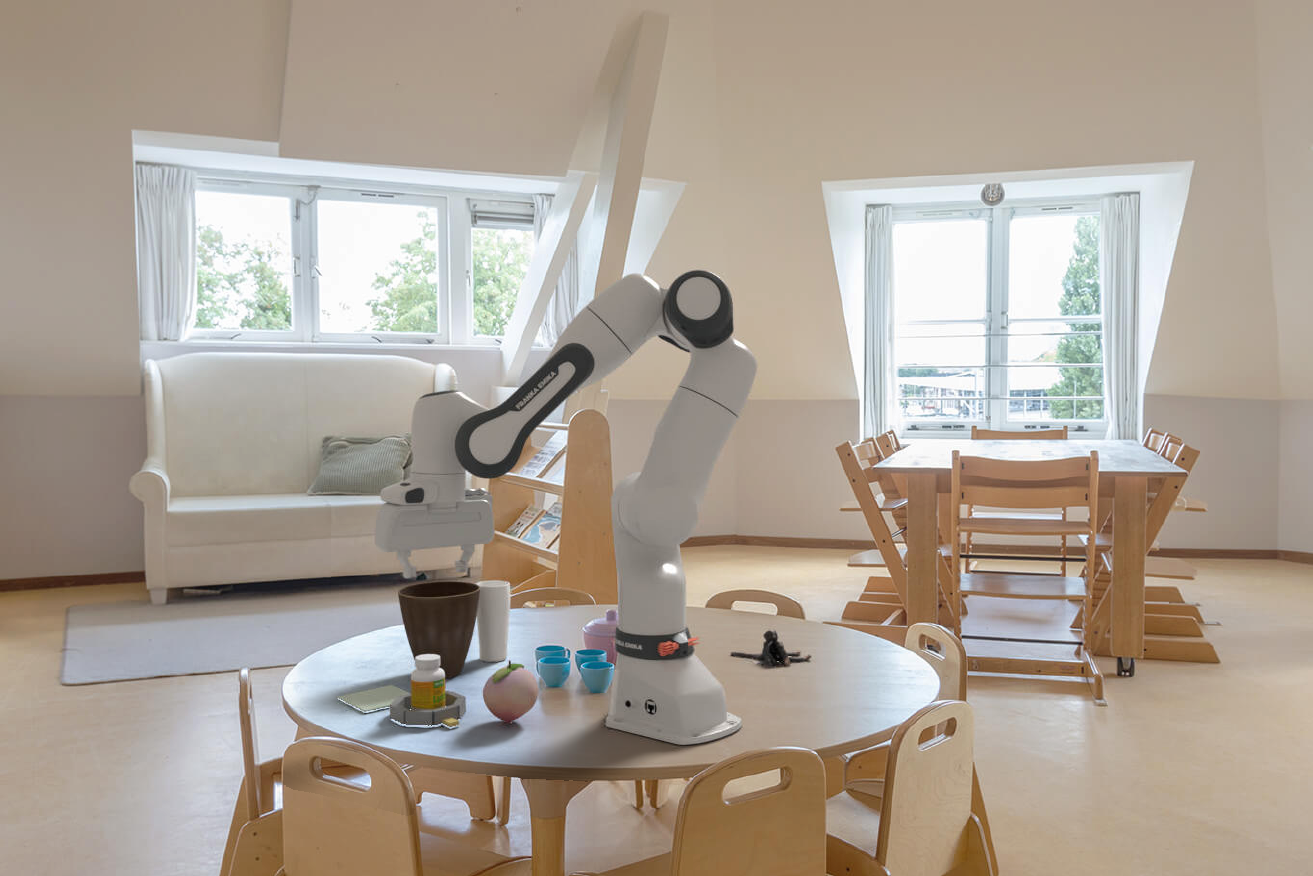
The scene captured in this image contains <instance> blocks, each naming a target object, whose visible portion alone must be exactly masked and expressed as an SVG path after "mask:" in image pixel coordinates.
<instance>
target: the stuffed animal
mask: <svg viewBox="0 0 1313 876" xmlns="http://www.w3.org/2000/svg"><path fill="white" fill-rule="evenodd" d="M763 638H764V642H763V644H762V645H763V647H762V651H761V653H746V652H740V651H731V652H730V656H732V655H734V656H733V657H735V656H741V657H740V658H744V657H747V658H746V659H745V660H746V661H747V660H748V662H753V661H754V660H756V659H758V660H757V661H758V662H754V663H757V664H756V665H758V664H761V665H760V666H763V665H765V667H770V666H773V667H772V668H775V667H774V666H776V667H780V666H779V665H781V666H783V665H784V666H783V667H785V666H790V667H791V665H792V663H791V662H796V663H801V662H800V661H806V662H808V661H809V660H810V659H811V658H812V655H811V654H807V655H805V656H804V657H801V656H800V655H801V653H802V652H801V650H797V651H792V652H788V651H786V649H785V647H784V643H783V642H782V641H779V636H778V632H777V631H776V630H774V629H768V630H767V631H766V632H765V633H763ZM797 655H799V656H800V657H799V656H797ZM788 656H796V657H788ZM752 658H753V660H752V661H749V660H750V659H752ZM762 660H763V661H762ZM807 660H808V661H807ZM777 661H779V662H777ZM748 662H747V663H748ZM754 663H753V664H754ZM790 664H791V665H790Z"/></svg>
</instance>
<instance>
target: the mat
mask: <svg viewBox="0 0 1313 876" xmlns="http://www.w3.org/2000/svg"><path fill="white" fill-rule="evenodd" d="M410 693H411V692H409V691H406V690H404V689H401V688H398V687H397V686H394V685H392V684H390V685H386V686H381V687H376V688H372V689H368V690H363V691H357V692H354V693H348V694H343V695H340V696H337V699H338V698H339V699H341V700H343V701H345V702H346V703H348V704H351V705H352V706H355V707H356V708H359V709H360V710H362V711H364V712H366V711H370V710H376V709H380V708H385V707H390V704H391V703H392V702H393V701H394V700H395V699H396V698H397V697H400V696H402V695H406V694H410Z"/></svg>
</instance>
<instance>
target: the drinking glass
mask: <svg viewBox="0 0 1313 876" xmlns="http://www.w3.org/2000/svg"><path fill="white" fill-rule="evenodd" d="M475 584H477V585H479V586H480V596H479V604H478V611H477V617H476V625H477V634H478V635H477V636H478V646H479V649H478V650H479V651H478V652H479V659H480V660H481V661H483V662H486V663H497V662H502V661H504V660H506V659H507V657H508V639H509V627H510V626H509V625H510V613H511V583H510V582H509V581H507V580H498V579H497V580H496V579H494V580H492V579H491V580H482V581H479V582H476V583H475Z"/></svg>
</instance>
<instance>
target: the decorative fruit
mask: <svg viewBox="0 0 1313 876" xmlns="http://www.w3.org/2000/svg"><path fill="white" fill-rule="evenodd" d="M538 696H539V684H538V680H537V678H536V677H535V675H534V674H533V673H532V672H531V671H530V670H528V669H526V668H525V665H523V664H522V663H515V662H513V663H512V661H511V660H508V664H507V665H506V666H503V667H500V668H499V669H497V670H496V671H495V673H493V674H492V675H490V676H489V678H488V679H486V682H485V684H484V686H483V689H482V698H483V702H484V704H485V706H486V708H487V709H488V711H489V712H490V713H491V714H492V715H493V716H494V717H495V718H497V719H498V720H501V721H503V722H504V723H506V724H512V723H513V722H514V721H516V720H518V719H520V718H521V717H523V716H524V715H526V714H527V713H528V712H530V711H531V710H532V708H534V706H535V705H536V703H537V700H538ZM511 722H512V723H511Z"/></svg>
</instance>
